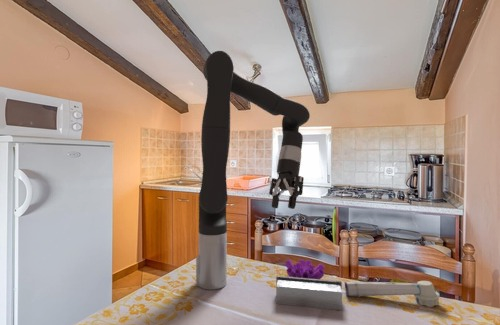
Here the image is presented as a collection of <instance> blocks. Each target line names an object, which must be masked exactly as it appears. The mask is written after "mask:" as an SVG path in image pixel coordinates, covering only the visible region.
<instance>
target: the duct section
mask: <svg viewBox="0 0 500 325" xmlns="http://www.w3.org/2000/svg"><path fill="white" fill-rule="evenodd" d="M275 285H276V287H275V288H276V292H275V294H276V302H275V304H278V305H287V306H297V307H305V308H306V307H307V308H315V309H326V310H333V311H342V310H343V291H342V287H343V286H342V285H343V284H342V281H340V280H329V279H308V278H297V277H289V276H283V275H282V276H281V275H276V283H275Z"/></svg>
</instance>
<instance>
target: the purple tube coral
mask: <svg viewBox="0 0 500 325" xmlns="http://www.w3.org/2000/svg"><path fill="white" fill-rule="evenodd" d="M284 264H285V267H286V268H287V269H286V274H287V275H288V277H297V278H308V279H320V280H322V278H323V277H324V275H325V272H324V271H325V270H326V266H324V265H323V264H322V263H319V264H318V265H317V266H316V267H315V265H313V263H312V260H309V259H306V260H305V259H299V261H298V262H296V263H295V265H294V263H293V262H292V260H291V259H288V260H286V261H285V262H284ZM314 267H315V268H314Z"/></svg>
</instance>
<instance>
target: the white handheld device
mask: <svg viewBox="0 0 500 325" xmlns="http://www.w3.org/2000/svg"><path fill="white" fill-rule="evenodd" d="M344 290H345V294H346V297H358V298H361V297H376V296H377V297H380V296H381V297H382V296H383V297H384V296H410V295H411V296H412V295H413V296H414V298H415V301H416V303H417V304H419V305H421V306H426V307H428V308H434V306H439V304H440V302H439V300H440V299H439V298H441V297H440V293H439V292H438V291H436V290H435V285H434V284H433V283H432V281H430V280H420V281H419V280H418V281H417V282H385V281H383V282H380V281H358V280H357V279H356V280H355V281H344Z"/></svg>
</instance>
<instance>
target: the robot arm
mask: <svg viewBox="0 0 500 325" xmlns="http://www.w3.org/2000/svg"><path fill="white" fill-rule="evenodd" d="M234 66H235V65H234V61H233V59H232V57H231V56H230V54H229V53H227V52H225V51H224V50H216V51H213V52H212V53H211V54H210V55H209V56H208V57H207V58H206V60H205V63H204V66H203V70H202V71H203V72H202V73H203V77H204V78H205V80H206V83H207V84H206V85H207V86H206V88H207V89H206V93H207V94H206V100H205V105H204V110H203V115H202V122H201V137H200V138H201V139H200V142H201V145H200V146H201V158H202V178H201V184H200V191H199V193H198V255H197V256H196V257H195V258H196V260H195V263H196V264H195V277H196V278H195V286H196V287H199V288H201V289H204V290H219V289H222V288H224V287H225V286H226V285H227V264H228V263H227V256H228V255H227V253H228V252H227V249H228V245H227V244H228V240H227V239H228V238H227V237H228V225H227V224H228V223H227V222H228V221H227V204H228V200H229V199H228V198H229V197H228V187H227V165H228V157H229V153H230V152H229V151H230V150H229V149H230V142H231V141H230V140H231V93H233V94H234V95H236V96H239V97H241V98H243V99H244V100H247V101H248V102H250V103H252V104H253V105H255V106H257V107H258V108H260V109H262V110H263V111H265V112H266V113H269V114H270V115H272V116H282V119H281V130H282V139H281V146H280V147H281V148H280V150H279V154H278V155H279V156H278V161H277V168H276V173H277V175H278V177H277V178H274V177H272V178H271V182H270V187H269V192H268V194H269V196H272V198H271V199H272V200H271V208H272V209H278V208H279V202H280V197H281V195H282V194H283V193H285V192H287V191H288V192H289V195H290V196H289V195H288V196H289V197H288V204H287V207H288V208H289V209H291V210H294V209H295V208H296V204H297V198H298V197H299V196H302V195H303V188H304V177H303V176H301V175H300V170H301V169H300V167H301V163H302V162H301V161H302V148H303V140H304V139H303V134H302V133H301V132H299V130H300V127H301V126H303V125H304V124H306V123H307V122H308V121H309V119H310V117H311V116H310V111H309V109H308V108H307V106H305V105H304V104H302V103H300V102H298V101H295V100H292V99H289V98H285V97H283V96H281V95H280V94H278V93H277V92H275V91H274V90H272V89H270V88H268V87H266V86H264V85H261V84H258V83H256V82H252V81H251V80H248V79H246V78H243V77H241V76H240V75H239V74H237V73H236V72H235V67H234Z"/></svg>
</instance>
